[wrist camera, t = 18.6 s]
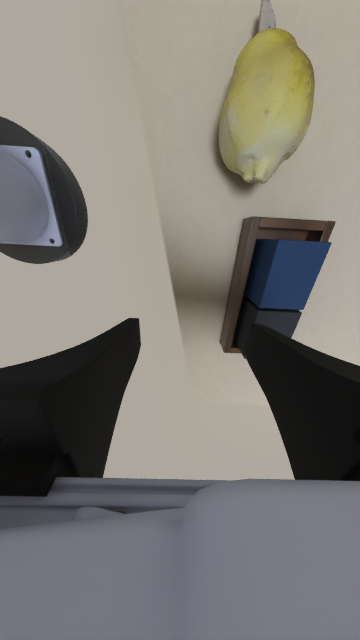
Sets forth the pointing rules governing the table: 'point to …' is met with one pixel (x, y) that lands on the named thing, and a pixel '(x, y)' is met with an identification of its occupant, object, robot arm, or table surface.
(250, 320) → the dark grey rectangular block
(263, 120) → the fruit
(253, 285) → the blue rectangular block
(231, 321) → the frame
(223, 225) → the table surface
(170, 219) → the table surface
